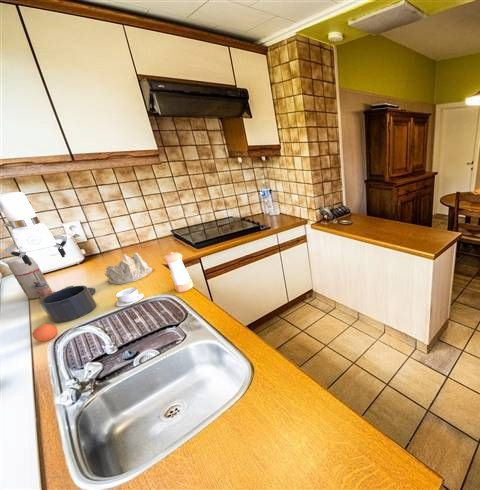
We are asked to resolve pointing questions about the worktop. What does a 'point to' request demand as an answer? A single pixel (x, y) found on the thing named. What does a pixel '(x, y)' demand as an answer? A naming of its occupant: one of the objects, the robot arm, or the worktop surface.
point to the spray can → (26, 275)
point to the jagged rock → (128, 270)
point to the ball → (45, 332)
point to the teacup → (128, 297)
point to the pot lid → (88, 289)
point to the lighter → (41, 289)
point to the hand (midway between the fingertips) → (47, 260)
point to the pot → (68, 304)
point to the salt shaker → (178, 272)
